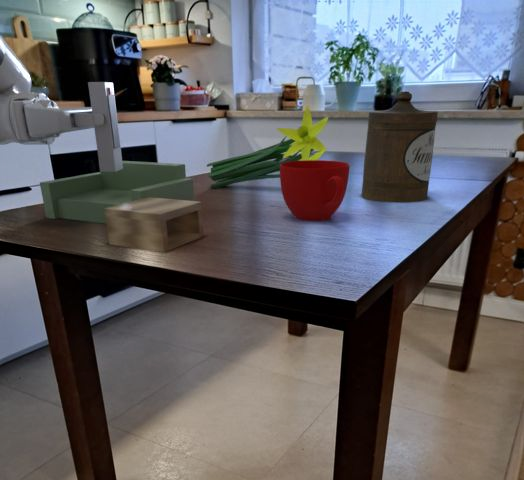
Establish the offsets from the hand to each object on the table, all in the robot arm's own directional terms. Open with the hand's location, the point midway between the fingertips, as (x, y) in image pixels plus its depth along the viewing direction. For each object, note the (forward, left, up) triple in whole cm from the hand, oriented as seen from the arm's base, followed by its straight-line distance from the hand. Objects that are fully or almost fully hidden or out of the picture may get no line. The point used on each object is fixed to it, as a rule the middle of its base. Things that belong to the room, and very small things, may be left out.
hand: (109, 118), depth 95 cm
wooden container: (+43, +44, -18) cm, 64 cm away
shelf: (+18, -12, -18) cm, 29 cm away
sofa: (-1, +1, -18) cm, 18 cm away
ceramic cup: (+36, +14, -18) cm, 43 cm away
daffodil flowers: (+12, +39, -18) cm, 45 cm away
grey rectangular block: (-1, 0, -9) cm, 9 cm away
